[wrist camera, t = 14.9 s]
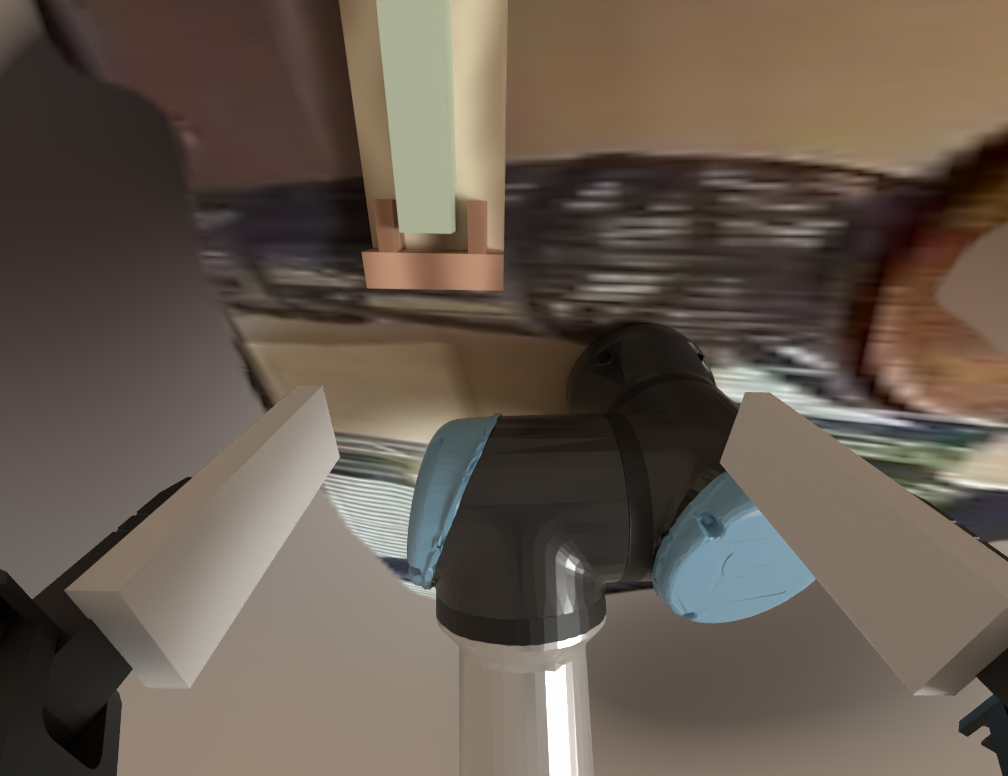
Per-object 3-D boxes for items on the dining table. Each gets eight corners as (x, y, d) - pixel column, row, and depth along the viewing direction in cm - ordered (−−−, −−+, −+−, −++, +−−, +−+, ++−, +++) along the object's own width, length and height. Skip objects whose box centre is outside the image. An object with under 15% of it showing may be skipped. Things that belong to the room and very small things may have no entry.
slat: (444, -210, 21) (428, -319, 17) (458, 229, 32) (451, 233, 28) (376, -213, 21) (343, -322, 17) (413, 228, 32) (399, 232, 28)
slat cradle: (512, -311, 21) (514, -425, 17) (503, 281, 36) (503, 290, 32) (301, -318, 20) (256, -434, 17) (381, 279, 36) (367, 288, 32)
